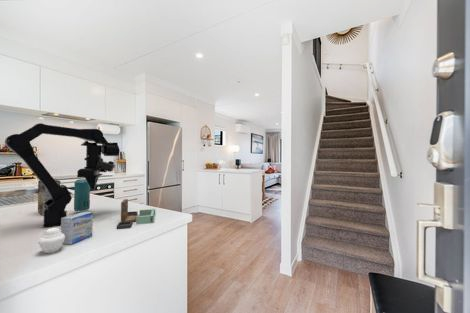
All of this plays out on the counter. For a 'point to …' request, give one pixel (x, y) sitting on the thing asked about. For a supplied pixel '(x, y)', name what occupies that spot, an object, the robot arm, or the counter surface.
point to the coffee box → (43, 196)
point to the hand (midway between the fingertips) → (93, 189)
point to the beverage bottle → (81, 195)
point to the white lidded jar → (51, 240)
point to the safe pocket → (146, 218)
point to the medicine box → (77, 227)
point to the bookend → (125, 212)
